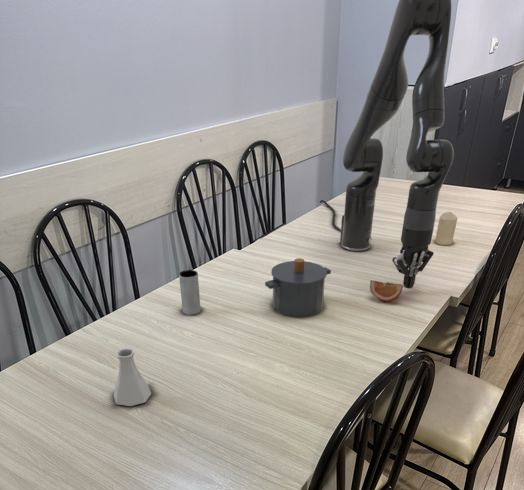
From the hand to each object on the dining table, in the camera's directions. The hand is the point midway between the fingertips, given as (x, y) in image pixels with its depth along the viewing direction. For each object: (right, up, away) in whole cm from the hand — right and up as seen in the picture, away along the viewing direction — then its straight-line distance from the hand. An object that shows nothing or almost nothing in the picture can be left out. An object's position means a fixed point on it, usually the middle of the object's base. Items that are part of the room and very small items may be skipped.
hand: (408, 287), depth 136 cm
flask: (-65, -26, -38) cm, 79 cm away
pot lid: (-30, +2, -10) cm, 32 cm away
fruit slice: (-7, -4, -2) cm, 8 cm away
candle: (+22, +19, +33) cm, 44 cm away
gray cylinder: (-57, -7, -8) cm, 58 cm away
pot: (-30, -5, -6) cm, 31 cm away
